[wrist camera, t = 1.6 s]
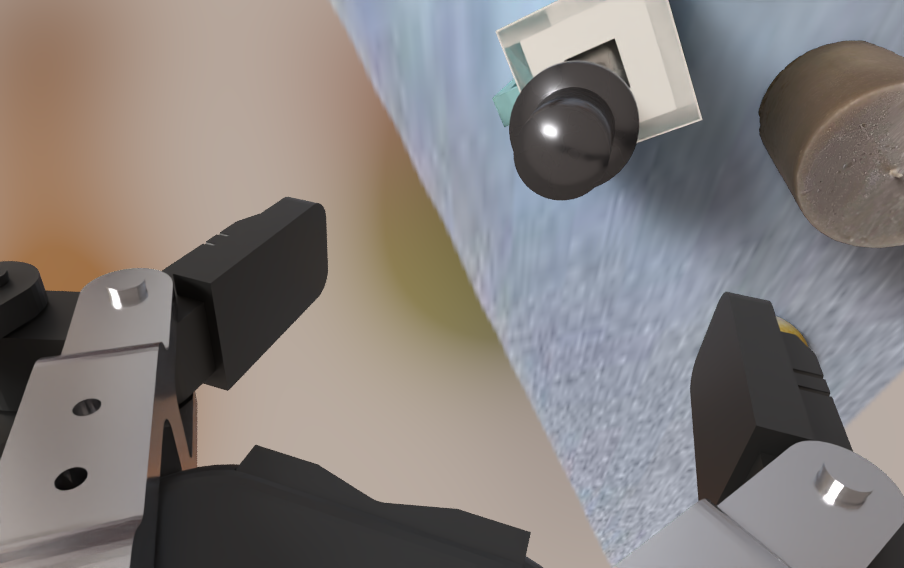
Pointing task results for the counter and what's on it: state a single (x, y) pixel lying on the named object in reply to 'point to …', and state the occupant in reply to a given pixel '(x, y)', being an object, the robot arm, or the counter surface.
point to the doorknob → (575, 124)
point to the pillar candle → (841, 140)
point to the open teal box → (640, 46)
